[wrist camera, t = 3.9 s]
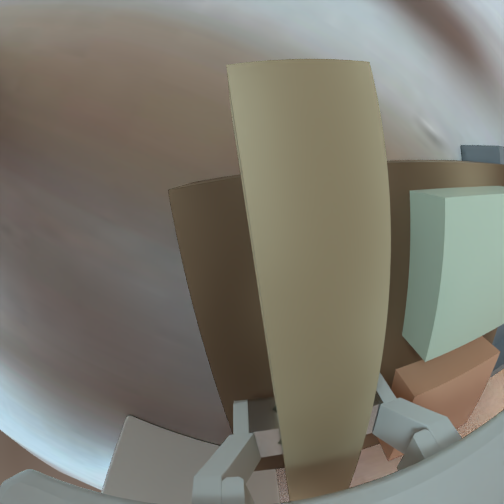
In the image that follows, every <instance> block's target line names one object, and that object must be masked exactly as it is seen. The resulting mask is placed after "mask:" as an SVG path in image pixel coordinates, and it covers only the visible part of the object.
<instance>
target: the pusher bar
mask: <svg viewBox="0 0 504 504" xmlns="http://www.w3.org/2000/svg"><path fill="white" fill-rule="evenodd" d="M226 66H227V76H228V86H229V95H230V105H231V114H232V121H233V127H234V134H235V140H236V147H237V154H238V160H239V167H240V174H241V180H242V187H243V194H244V200H245V207H246V214H247V220H248V227H249V234H250V240H251V247H252V254H253V260H254V267H255V273H256V280H257V287H258V293H259V300H260V307H261V313H262V320H263V327H264V333H265V340H266V347H267V353H268V360H269V367H270V373H271V380H272V387H273V393H274V397H275V403H276V410H277V415H278V421H279V428H280V434H281V442H282V448H283V460H284V467H285V474H286V480H287V486H288V493H289V499H290V501H296V500H301V499H307V498H312V497H316V496H321V495H325V494H329V493H334V492H337V491H341V490H345V489H348V488H349V486H350V483H351V480H352V477H353V474H354V472H355V469H356V466H357V463H358V459H359V456H360V453H361V450H362V446H363V443H364V439H365V436H366V432H367V428H368V424H369V420H370V416H371V412H372V408H373V403H374V399H375V394H376V389H377V384H378V378H379V373H380V367H381V361H382V354H383V347H384V340H385V332H386V323H387V313H388V301H389V286H390V263H391V218H390V195H389V180H388V169H387V159H386V150H385V142H384V134H383V127H382V121H381V115H380V109H379V104H378V98H377V93H376V88H375V84H374V79H373V75H372V71H371V67H370V62H364V61H353V60H335V59H286V60H268V61H256V62H246V63H238V64H230V65H226Z"/></svg>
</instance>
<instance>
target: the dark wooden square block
mask: <svg viewBox="0 0 504 504" xmlns="http://www.w3.org/2000/svg"><path fill="white" fill-rule="evenodd" d="M387 169H388V180H389V195H390V218H391V263H390V286H389V301H388V313H387V323H386V332H385V340H384V347H383V354H382V361H381V367H380V373H381V375H382V376H383V378H384V379H385V381H386V382H387V384H388V385H389V387H390V389H391V388H392V383H393V379H394V375H395V370H396V369H398V368H401V367H404V366H406V365H409V364H412V363H415V362H417V361H420V360H422V358H421V357H420V355H419V354H418V353H417V352H416V351H415V350H414V349H413V347H412V346H411V345H410V344H409V343H408V342H407V340H406V339H405V338H404V337H403V336H402V332H403V325H404V318H405V310H406V301H407V291H408V279H409V264H410V191H411V190H424V189H439V188H456V187H478V186H504V164H495V163H485V162H473V161H455V160H394V161H387ZM168 194H169V199H170V205H171V210H172V215H173V220H174V225H175V230H176V235H177V240H178V244H179V249H180V254H181V258H182V262H183V267H184V271H185V275H186V280H187V284H188V288H189V292H190V296H191V300H192V304H193V308H194V311H195V315H196V319H197V323H198V326H199V330H200V333H201V337H202V341H203V344H204V347H205V351H206V354H207V358H208V361H209V364H210V368H211V371H212V374H213V377H214V380H215V384H216V387H217V390H218V393H219V396H220V399H221V402H222V405H223V408H224V411H225V413H226V416H227V419H228V422H229V425H230V428H231V430H232V433H233V403H234V401H239V400H248V399H257V398H266V397H274V393H273V387H272V380H271V373H270V367H269V360H268V353H267V347H266V340H265V333H264V327H263V320H262V313H261V307H260V300H259V293H258V287H257V280H256V273H255V267H254V260H253V254H252V247H251V240H250V234H249V227H248V220H247V214H246V207H245V200H244V194H243V187H242V180H241V174H240V175H234V176H227V177H221V178H215V179H210V180H204V181H198V182H193V183H190V184H186V185H183V186H179V187H176V188H173V189H169V190H168ZM497 328H498V327H497ZM497 328H495V329H493V330H492V331H490V332H488V333H486V334H484V335H482V336H483V337H484V338H485V339H486V340H488V341H489V342H490V343H491V344H492V343H493V340H494V337H495V334H496V331H497ZM379 443H380V442H379V440H378V438H377V436H375V435H374V434H372V433H370V434H366V436H365V439H364V443H363V446H362V449H365V448H368V447H371V446H374V445H377V444H379ZM278 468H284V460H283V454H280V455H274V456H268V457H261V460H260V461H259V463H258V465H257V466H256V468H255V470H254V471H262V470H270V469H278Z"/></svg>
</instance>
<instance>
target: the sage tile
mask: <svg viewBox="0 0 504 504" xmlns="http://www.w3.org/2000/svg"><path fill="white" fill-rule="evenodd" d="M502 324H504V186H478V187H456V188H439V189H424V190H411V191H410V264H409V279H408V291H407V301H406V310H405V318H404V325H403V332H402V336H403V337H404V338H405V339H406V340H407V342H408V343H409V344H410V345H411V346H412V347H413V349H414V350H415V351H416V352H417V353H418V354H419V355H420V357H421V358H422V359H423V360H424V361H425V362H426V361H429V360H431V359H434V358H436V357H438V356H441V355H443V354H445V353H448V352H450V351H452V350H454V349H456V348H458V347H461V346H463V345H465V344H467V343H469V342H471V341H473V340H475V339H477V338H479V337H481V336H482V335H484V334H486V333H488V332H490V331H492V330H493V329H495V328H497V327H499V326H500V325H502Z"/></svg>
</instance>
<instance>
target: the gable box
mask: <svg viewBox="0 0 504 504" xmlns="http://www.w3.org/2000/svg"><path fill="white" fill-rule="evenodd" d="M219 447H220V446H219V445H215V444H211V443H208V442H204V441H201V440H197V439H194V438H190V437H187V436H184V435H181V434H178V433H175V432H172V431H169V430H166V429H164V428H161V427H158V426H155V425H153V424H150V423H148V422H145V421H143V420H140V419H138V418H135V417H133V416H131V415H129V416H127V417H126V419H125V422H124V425H123V428H122V430H121V433H120V436H119V439H118V442H117V445H116V448H115V451H114V454H113V457H112V460H111V463H110V466H109V469H108V472H107V475H106V479H105V482H104V485H103V488H102V492H101V493H103V494H107V495H111V496H116V497H120V498H125V499H130V500H136V501H142V502H148V503H156V504H191V502H192V491H193V480H194V476H195V475H196V474H197V473H198V472H199V470H200V469H201V468H202V467H203V466H204V465H205V464H206V462H207V461H208V460H209V459H210V458H211V457H212V455H213V454H214V453H215V452H216V451H217V449H218V448H219ZM246 486H247V488H248V490H249V492H250V494H251V496H252V498H253V500H254V504H276V503H281V502H280V495H279V487H278V480H277V473H276V469H270V470H262V471H253V473H252V475H251V476H250V478H249V480H248V481H247V483H246Z"/></svg>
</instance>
